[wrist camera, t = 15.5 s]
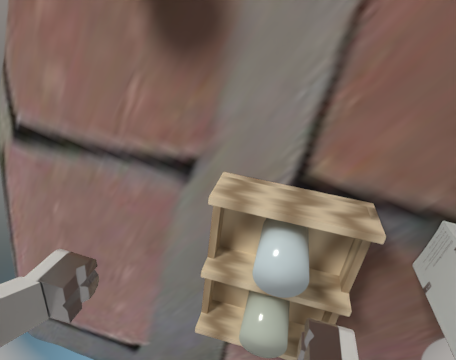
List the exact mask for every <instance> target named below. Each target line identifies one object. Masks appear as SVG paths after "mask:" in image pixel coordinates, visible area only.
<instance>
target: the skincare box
mask: <svg viewBox="0 0 456 360" xmlns="http://www.w3.org/2000/svg"><path fill="white" fill-rule="evenodd" d="M413 268H414V270H415V272H416V275H417V277H418V279H419V281H420V283H421V286H422V288H423V290H424V292H425V294H426V297H427V299H428V301H429V303H430V305H431V308H432V310H433V312H434V314H435V316H436V319H437V321H438V323H439V325H440V327H441V330H442V332H443V334H444V336H445V338H446V340H447V343H448V345H449V347H450V349H451V352H452V354H453V356H454V358H455V360H456V224H454V223H451V222H447V221H442V223H441V225H440V226H439V229H438V230H437V232H436V233H435V235H434V236H433V238H432V239H431V241H430V242H429V243H428V245H427V246H426V248H425V249H424V250H423V252H422V253H421V254H420V256H419V257H418V258H417V259H416V260H415V262H414V263H413Z"/></svg>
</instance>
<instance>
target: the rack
mask: <svg viewBox="0 0 456 360" xmlns="http://www.w3.org/2000/svg"><path fill="white" fill-rule="evenodd" d="M208 204H210V205H213V213H212V222H211V231H210V240H209V249H208V257H207V260H206V262H205V264H204V266H203V269H202V271H201V277H203V278H205V284H204V293H203V302H202V311H201V315H200V317H199V320H198V323H197V325H196V328H195V332H196V333H200V334H203V335H206V336H210V337H213V338H216V339H220V340H223V341H226V342H230V343H233V344H236V345H240V346H242V344H241V343H240V340H239V335H240V330H241V325H242V321H243V316H244V312H245V307H246V303H247V298H248V293H249V290H251V291H255V292H259V293H262V294H266V295H270V294H267V293H266V292H264V291H263V290H261V289H260V288H259V287H258V286H257V284H256V283H255V281H254V279H253V267H254V262H255V258H256V253H257V249H258V244H259V240H260V235H261V231H262V226H263V223H264V221H265V220H266V218H270V219H275V220H279V221H283V222H288V223H292V224H296V225H301V226H305V227H308V230H309V284H308V286H307V288H306V289H305V291H304V292H302V293H301V294H299V295H297V296H294V297H289V298H281V297H277V298H281V299H285V300H288V301H290V308H289V325H288V342H287V350H286V351H285V353H284V354H282V355H281V356H279V357H280V358H283V359H286V360H297V352H298V344H299V339H300V336H301V333H302V332H304V331H305V322H306V319H307V318H312V319H315V320H319V321H323V322H327V323H331V324H334V325H335V324H336V321H337V319H338V317H339V315H344V316H348V317H349V316H350V314H351V312H352V310H351V304H350V298H349V292H350V290H351V287H352V285H353V283H354V281H355V278H356V276H357V274H358V271H359V269H360V267H361V265H362V262H363V260H364V258H365V255H366V253H367V251H368V249H369V246H370V244H371V242H375V243H379V244H383V243H384V241H385V239H386V235H385V232H384V230H383V227H382V225H381V222H380V220H379V217H378V214H377V212H376V209H375V207H374V204H373V203H368V202H363V201H359V200H354V199H349V198H345V197H340V196H335V195H330V194H326V193H321V192H316V191H312V190H307V189H302V188H297V187H293V186H288V185H283V184H278V183H274V182H269V181H264V180H260V179H255V178H250V177H245V176H241V175H236V174H231V173H227V172H223V174H222V175H221V177H220V179H219V181H218V182H217V184H216V186H215V187H214V189H213V191H212V193H211V194H210V196H209V201H208ZM270 296H272V295H270ZM274 297H275V296H274Z"/></svg>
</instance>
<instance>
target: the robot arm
mask: <svg viewBox="0 0 456 360" xmlns="http://www.w3.org/2000/svg"><path fill="white" fill-rule="evenodd" d="M96 267H97V262H96V260H95V259H93V258H89V257H86V256H83V255H80V254H76V253H73V252H70V251H66V250H63V249H58V250H55V251H54V252H53V253H52V254H51V255H49V256H48V257H47V258H46V259H45V260H44V261H42V262H41V263H40V264H39V265H38V266H37V267H36V268H34V269H33V270H32V271H31V272H30V273H29V274H27V275H26V276H25V277H18V278H15V279H13V280H10V281H7V282H5V283H2V284H0V347H2V346H3V345H5V344H7V343H8V342H10V341H12V340H14V339H15V338H17V337H19V336H20V335H22V334H24V333H26V332H27V331H29V330H31V329H32V328H34V327H36V326H37V325H39V324H41V323H43V322H44V321H46V320H48V319H49V317H50V318H53V319H57V320H60V321H64V322H67V323H70V322H71V321H72V320H73V319H74V318H75V316H76V315H77V314H78V313H79V311H80V310H81V309H82V302H84V301H86V300H88V299H90V298H91V297H92V295H93V294H94V293H95V290H96V288H97V286H98V282H99V276H98V274H97V272H96V271H95V270H94V269H95V268H96ZM297 360H359V357H358V351H357V345H356V339H355V333H354V331H353V330H352V329H348V328H344V327H341V326H337V325H334V324H331V323H327V322H323V321H319V320H315V319H312V318H307V319H306V322H305V331H304V332H302V333H301V336H300V339H299V344H298V352H297Z"/></svg>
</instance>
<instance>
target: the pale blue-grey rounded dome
mask: <svg viewBox="0 0 456 360" xmlns="http://www.w3.org/2000/svg"><path fill="white" fill-rule="evenodd" d="M253 279H254V281H255V283H256V284H257V286H258V287H259V288H260V289H261V290H263V291H264V292H266V293H267V294H270V295H272V296H275V297H281V298H289V297H294V296H297V295H299V294H301V293H302V292H304V291H305V289H306V288H307V286H308V284H309V230H308V227H305V226H301V225H296V224H292V223H288V222H283V221H279V220H275V219H270V218H266V220H265V221H264V223H263V226H262V231H261V235H260V240H259V244H258V249H257V253H256V258H255V262H254V267H253Z"/></svg>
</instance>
